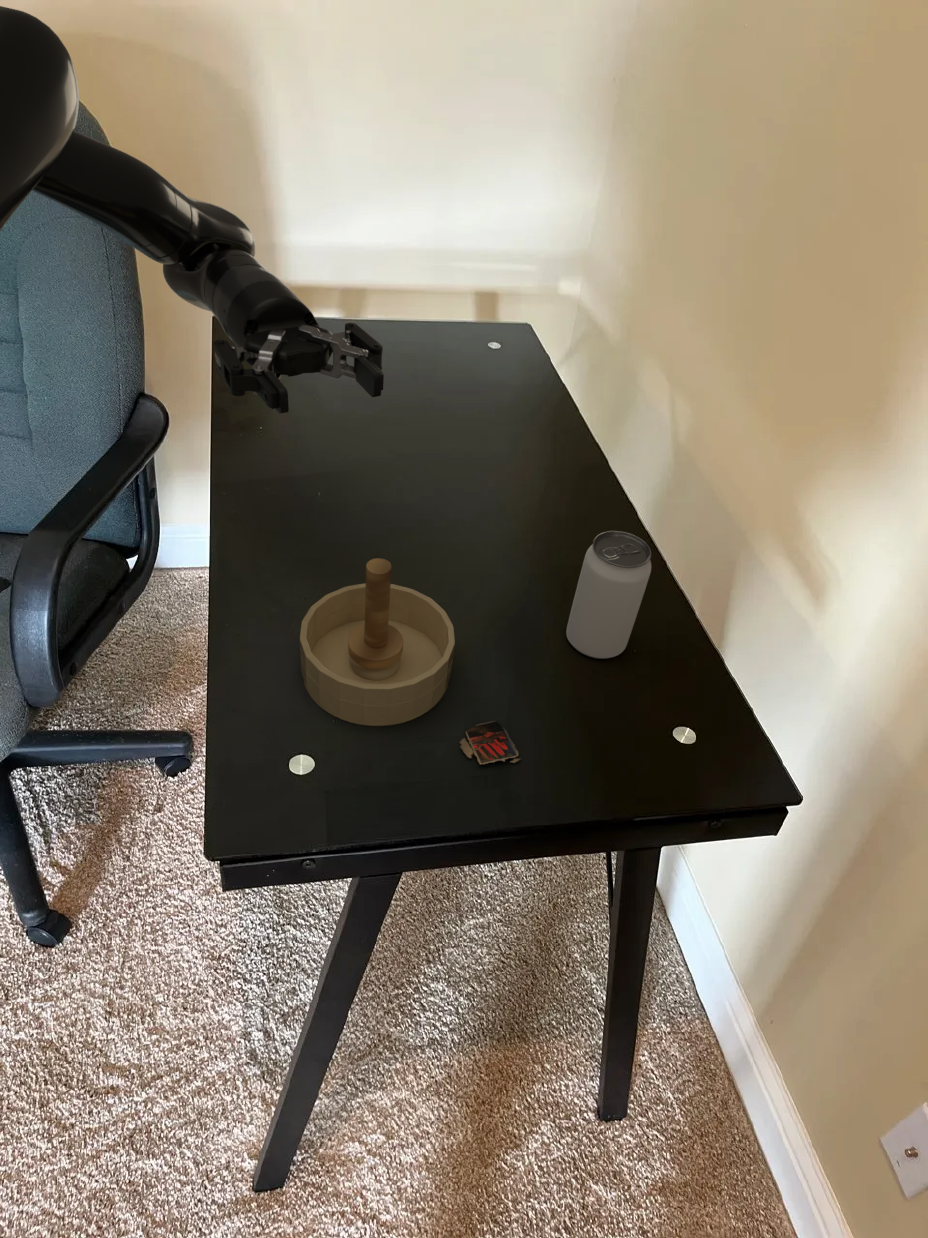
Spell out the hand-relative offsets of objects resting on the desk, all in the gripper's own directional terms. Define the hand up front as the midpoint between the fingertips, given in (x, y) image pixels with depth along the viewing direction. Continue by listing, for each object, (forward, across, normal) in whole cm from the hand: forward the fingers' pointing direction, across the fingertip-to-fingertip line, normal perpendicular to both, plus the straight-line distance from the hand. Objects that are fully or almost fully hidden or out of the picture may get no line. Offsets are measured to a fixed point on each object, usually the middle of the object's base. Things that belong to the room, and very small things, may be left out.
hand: (332, 394), depth 70 cm
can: (+16, +23, +24) cm, 37 cm away
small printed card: (+23, +5, +24) cm, 34 cm away
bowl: (+10, 0, +24) cm, 26 cm away
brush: (+10, 0, +23) cm, 25 cm away
